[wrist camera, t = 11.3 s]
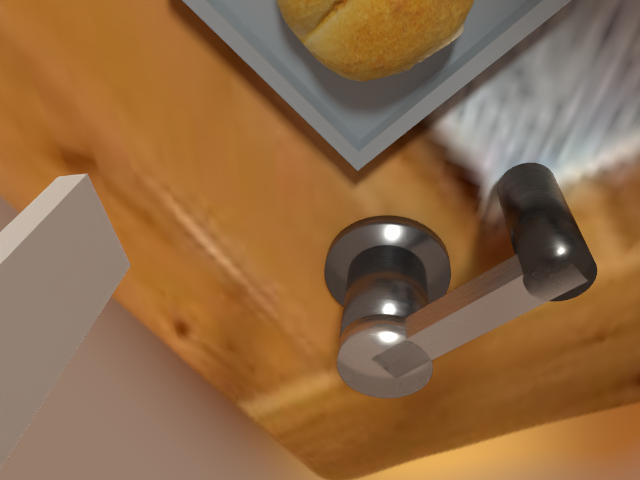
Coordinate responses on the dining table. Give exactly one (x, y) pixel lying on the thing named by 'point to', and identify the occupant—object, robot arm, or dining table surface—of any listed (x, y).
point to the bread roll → (374, 32)
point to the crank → (476, 292)
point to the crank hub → (386, 268)
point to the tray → (374, 95)
